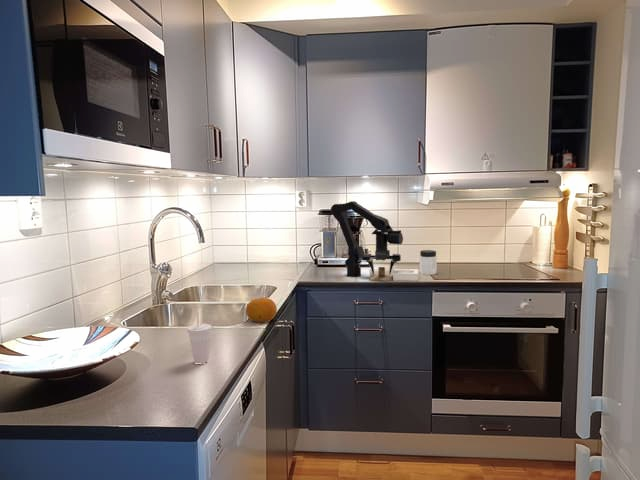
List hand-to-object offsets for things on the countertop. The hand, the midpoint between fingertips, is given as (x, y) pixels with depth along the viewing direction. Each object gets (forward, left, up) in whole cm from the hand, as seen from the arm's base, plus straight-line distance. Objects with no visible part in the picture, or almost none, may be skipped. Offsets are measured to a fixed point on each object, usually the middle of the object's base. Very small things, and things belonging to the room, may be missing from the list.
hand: (381, 274), depth 228 cm
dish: (+12, +1, -2) cm, 12 cm away
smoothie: (-39, -118, -3) cm, 124 cm away
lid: (0, 0, -2) cm, 2 cm away
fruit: (-36, -79, -3) cm, 86 cm away
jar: (+23, +18, -3) cm, 29 cm away
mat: (0, 0, -2) cm, 2 cm away
